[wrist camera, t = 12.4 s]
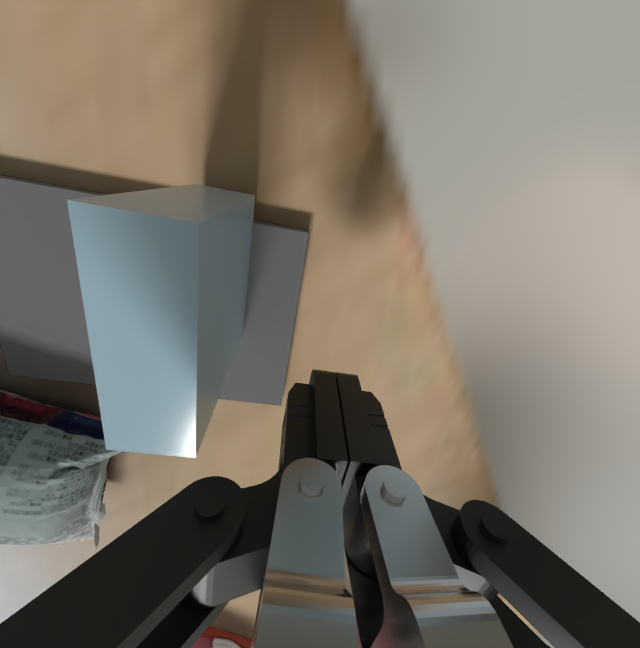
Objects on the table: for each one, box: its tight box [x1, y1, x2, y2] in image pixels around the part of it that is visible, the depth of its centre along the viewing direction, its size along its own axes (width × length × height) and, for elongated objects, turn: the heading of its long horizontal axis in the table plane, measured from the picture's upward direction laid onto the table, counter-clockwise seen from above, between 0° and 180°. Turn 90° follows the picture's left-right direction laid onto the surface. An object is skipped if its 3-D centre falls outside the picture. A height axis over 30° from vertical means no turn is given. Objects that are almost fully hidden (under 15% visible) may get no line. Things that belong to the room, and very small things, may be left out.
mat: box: [0, 175, 309, 406], centre depth 14 cm, size 13×9×1 cm
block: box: [67, 184, 255, 458], centre depth 10 cm, size 2×7×6 cm
